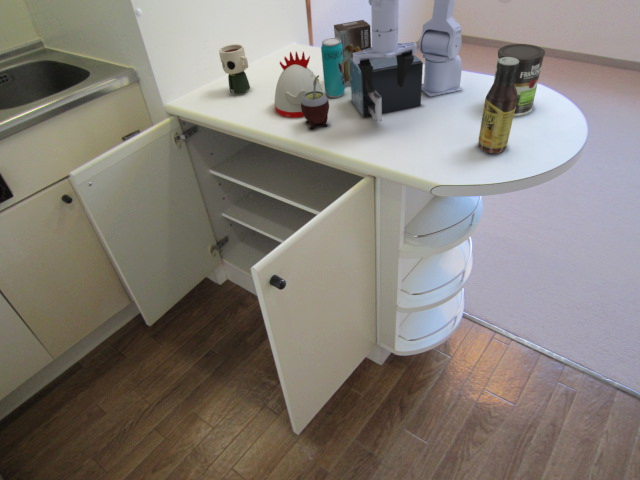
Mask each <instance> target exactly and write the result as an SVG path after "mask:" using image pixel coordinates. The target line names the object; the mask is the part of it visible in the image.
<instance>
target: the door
mask: <svg viewBox="0 0 640 480" xmlns="http://www.w3.org/2000/svg"><path fill="white" fill-rule="evenodd" d="M423 67H424V62H423V61H421V62H417V63H412V64H411V66H410V68H409V70H408V72H407V74H406V77H405V81H404V84H403V87H400V86H399V85H398V84H397V66H396V67H391V68H385V69H380V70H375V71H373V73H372V93H369V92H368V91H367V88H366V83H365V80H364V77H363V74H362V73H361V76H362V105H363V116H362V117H363V118H368V117H372V118H373V119H374V121H375V122H378V123H379V122H382V121H383V114H387V113H388V114H389V113H392V112H398V111H403V110H407V109H413V108H417V107H421V105H422V84H423V71H424V70H423V69H424V68H423Z"/></svg>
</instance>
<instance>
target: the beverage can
mask: <svg viewBox="0 0 640 480" xmlns="http://www.w3.org/2000/svg"><path fill="white" fill-rule="evenodd" d="M320 52H321V62H322V73H323V84H324V85H323V86H324V92H325V95H326V97H327V98H331V99H337V98H341V97H343V96H344V93H345V89H346V87H345V81H344V64H343V48H342V44H341V40H340V39H338V38H335V37H328V38H325V39H323V40H321V47H320Z"/></svg>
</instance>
